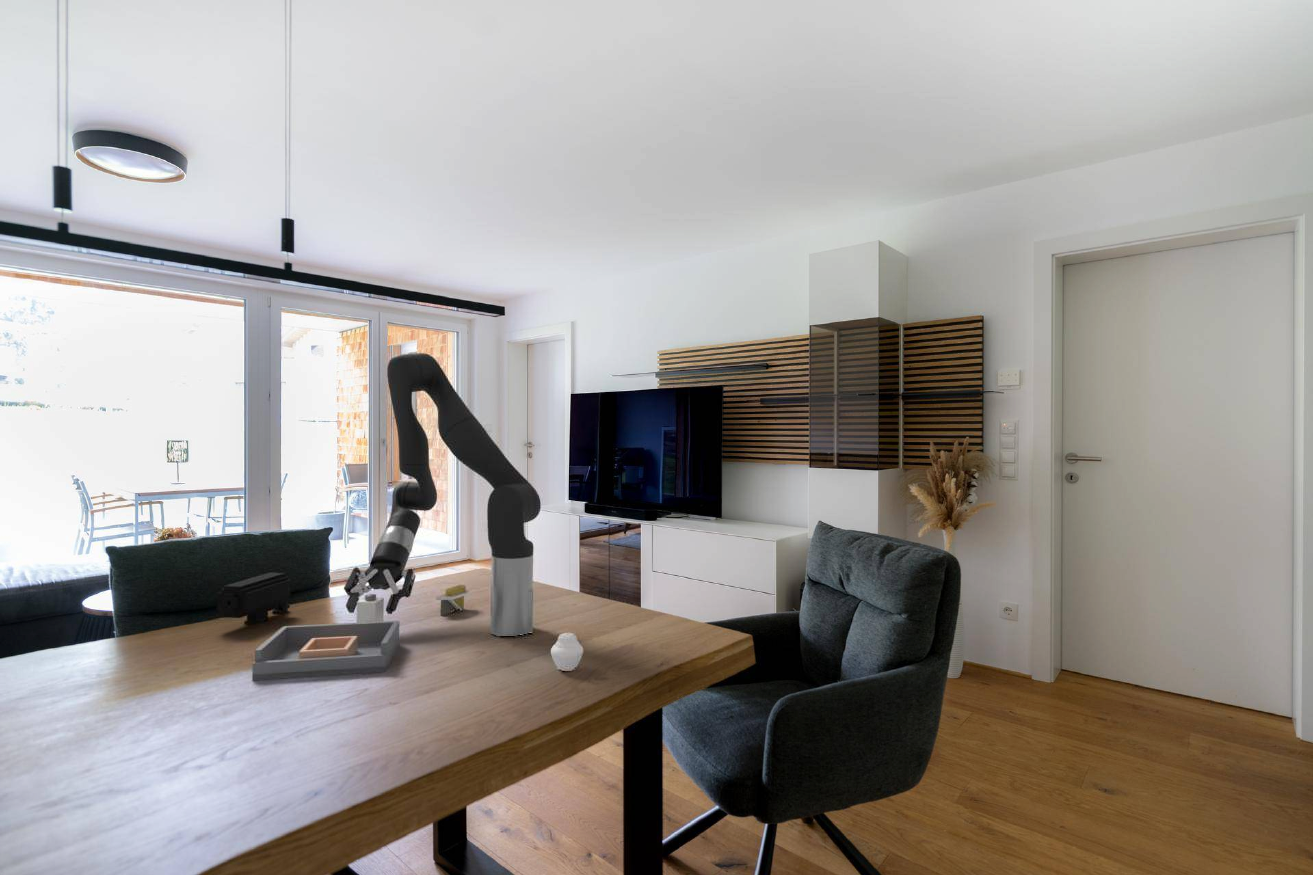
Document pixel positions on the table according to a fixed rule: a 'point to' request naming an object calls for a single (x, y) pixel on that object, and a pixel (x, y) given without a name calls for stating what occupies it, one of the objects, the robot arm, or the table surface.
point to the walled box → (327, 650)
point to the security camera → (255, 597)
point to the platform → (453, 599)
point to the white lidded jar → (567, 651)
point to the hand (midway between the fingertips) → (369, 611)
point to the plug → (370, 609)
